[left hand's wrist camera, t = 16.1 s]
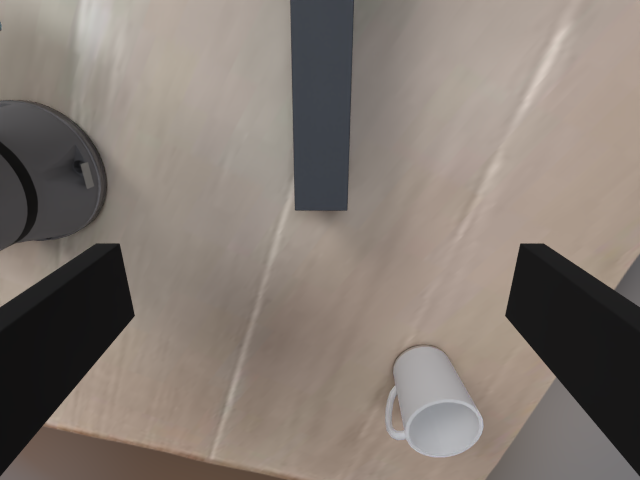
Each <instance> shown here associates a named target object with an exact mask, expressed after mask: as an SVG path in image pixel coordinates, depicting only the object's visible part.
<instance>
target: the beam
mask: <svg viewBox="0 0 640 480" xmlns="http://www.w3.org/2000/svg"><path fill="white" fill-rule="evenodd" d="M290 5H291V50H292V96H293V142H294V187H295V210H328V211H347V203H348V171H349V139H350V107H351V76H352V44H353V12H354V0H290Z"/></svg>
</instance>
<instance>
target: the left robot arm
mask: <svg viewBox="0 0 640 480" xmlns="http://www.w3.org/2000/svg"><path fill="white" fill-rule="evenodd" d="M0 30H1V22H0ZM105 195H106V175H105V170H104V167H103V163H102V161H101V158H100V156H99V154H98V152H97V150H96V148H95V146H94V145H93V143H92V142H91V140H90V139H89V138H88V136H87V135H86V134H85V133H84V132H83V131H82V130H81V129H80V128H79V127H78V126H77V125H76V124H75V123H74V122H73V121H72V120H70V119H69V118H68V117H66V116H65V115H63V114H62V113H60V112H58V111H56V110H54V109H52V108H50V107H48V106H45V105H43V104H39V103H36V102H31V101H23V100H6V101H0V251H1V250H3V249H4V248H6V247H8V246H10V245H12V244H14V243H20V242H25V241H32V240H36V241H44V240H53V239H58V238H63V237H66V236H69V235H71V234H73V233H75V232H77V231H79V230H80V229H82V228H84V227H86V226H87V225H88V224H90V223H91V222H92V221H93V220H94V219H95V218H96V216H97V215H98V213H99V212H100V210H101V208H102V206H103V203H104V200H105ZM134 316H135V314H134V310H133V305H132V300H131V295H130V291H129V286H128V281H127V276H126V272H125V267H124V262H123V257H122V253H121V248H120V244H95V245H93V246H92V247H90V248H89V249H87V250H86V251H84V252H83V253H81V254H80V255H78V256H77V257H75V258H74V259H72V260H71V261H69V262H68V263H66V264H65V265H63V266H62V267H60V268H59V269H57V270H56V271H54V272H53V273H51V274H50V275H48V276H47V277H45V278H44V279H42V280H41V281H39V282H38V283H36V284H35V285H33V286H32V287H30V288H29V289H27V290H26V291H24V292H23V293H21V294H20V295H18V296H17V297H15V298H14V299H12V300H11V301H9V302H8V303H6V304H4V305H3V306H1V307H0V476H1V475H2V474H3V472H4V471H5V470H6V469H7V468H8V466H9V465H10V464H11V463H12V462H13V460H14V459H15V458H16V457H17V456H18V454H19V453H20V452H21V451H22V450H23V449H24V447H25V446H26V445H27V444H28V443H29V441H30V440H31V439H32V438H33V437H34V435H35V434H36V433H37V432H38V431H39V429H40V428H41V427H42V426H43V425H44V424H45V422H46V421H47V420H48V419H49V418H50V416H51V415H52V414H53V413H54V412H55V410H56V409H57V408H58V407H59V406H60V404H61V403H62V402H63V401H64V400H65V398H66V397H67V396H68V395H69V394H70V393H71V391H72V390H73V389H74V388H75V387H76V385H77V384H78V383H79V382H80V381H81V379H82V378H83V377H84V376H85V375H86V373H87V372H88V371H89V370H90V369H91V367H92V366H93V365H94V364H95V363H96V362H97V360H98V359H99V358H100V357H101V356H102V354H103V353H104V352H105V351H106V350H107V348H108V347H109V346H110V345H111V344H112V342H113V341H114V340H115V339H116V338H117V336H118V335H119V334H120V333H121V332H122V331H123V329H124V328H125V327H126V326H127V325H128V323H129V322H130V321H131V320H132V319H133V317H134ZM505 316H506V317H507V319H508V320H509V321H510V322H511V323H512V325H513V326H514V327H515V328H516V329H517V331H518V332H519V333H520V334H521V335H522V336H523V338H524V339H525V340H526V341H527V342H528V344H529V345H530V346H531V347H532V348H533V350H534V351H535V352H536V353H537V354H538V356H539V357H540V358H541V359H542V360H543V362H544V363H545V364H546V365H547V366H548V367H549V369H550V370H551V371H552V372H553V373H554V375H555V376H556V377H557V378H558V379H559V381H560V382H561V383H562V384H563V385H564V387H565V388H566V389H567V390H568V391H569V393H570V394H571V395H572V396H573V397H574V398H575V400H576V401H577V402H578V403H579V404H580V406H581V407H582V408H583V409H584V410H585V412H586V413H587V414H588V415H589V416H590V418H591V419H592V420H593V421H594V422H595V423H596V425H597V426H598V427H599V428H600V429H601V431H602V432H603V433H604V434H605V435H606V437H607V438H608V439H609V440H610V441H611V443H612V444H613V445H614V446H615V447H616V449H617V450H618V451H619V452H620V453H621V455H622V456H623V457H624V458H625V459H626V460H627V462H628V463H629V464H630V465H631V466H632V468H633V469H634V470H635V471H636V472H637V473H638V475H639V476H640V307H639V306H637V305H635V304H634V303H632V302H631V301H629V300H628V299H626V298H625V297H623V296H622V295H620V294H619V293H617V292H616V291H614V290H613V289H611V288H610V287H608V286H607V285H605V284H604V283H602V282H601V281H599V280H598V279H596V278H595V277H593V276H592V275H590V274H589V273H587V272H586V271H584V270H583V269H581V268H580V267H578V266H577V265H575V264H574V263H572V262H571V261H569V260H568V259H566V258H565V257H563V256H562V255H560V254H559V253H557V252H556V251H554V250H553V249H551V248H550V247H548V246H547V245H545V244H520V248H519V253H518V257H517V262H516V267H515V272H514V276H513V281H512V286H511V291H510V295H509V300H508V305H507V310H506V314H505Z"/></svg>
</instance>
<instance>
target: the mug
mask: <svg viewBox="0 0 640 480" xmlns="http://www.w3.org/2000/svg"><path fill="white" fill-rule="evenodd" d="M393 375H394V380H395V386H394V387H393V388H392V390H391V391H390V393H389V396H388V399H387V404H386V411H385V422H386V429H387V432H388V433H389V435H390V436H391V437H392V438H393V439H396V440H405V439H406V440H407V441H408V443H409V445H410V446H411V447H412V448H413V449H414V450H416V451H417V452H419V453H421V454H423V455H426V456H431V457H448V456H454V455H456V454H459V453H462V452H464V451H465V450H467V449H469V448H470V447H472V446H473V445H474V444H475V443H476V442H477V441H478V439H479V437H480V436H481V434H482V430H483V418H482V416H481V414H480V413H479V411H478V409H477V407H476V405H475V404H474V402H473V400H472V398H471V397H470V395H469V393H468V391H467V390H466V388H465V386H464V384H463V382H462V381H461V379H460V377H459V375H458V374H457V372H456V370H455V368H454V367H453V365H452V363H451V361H450V360H449V358H448V356H447V355H446V354H445V353H444V352H443V351H442V350H440V349H438V348H436V347H433V346H429V345H419V346H414V347H411V348H409V349H407V350H405V351H404V352H403V353H401V354H400V356H399V357H398V358H397V359H396V361H395V364H394V366H393ZM396 395H398V401H399V406H400V411H401V416H402V421H403V426H404V430H403V431H397V430H395V429H394V428H393V426H392V407H393V403H394V399H395V397H396Z"/></svg>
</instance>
